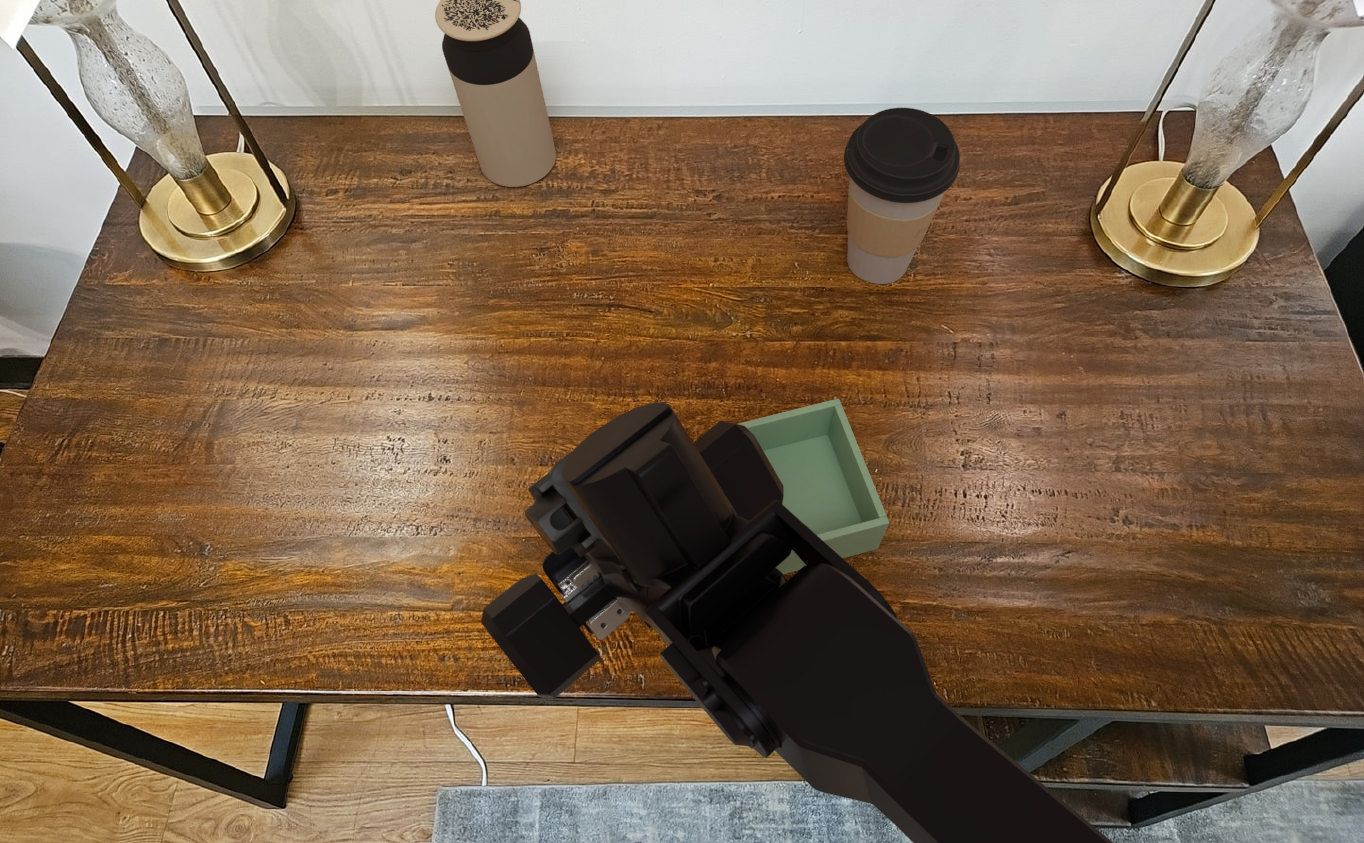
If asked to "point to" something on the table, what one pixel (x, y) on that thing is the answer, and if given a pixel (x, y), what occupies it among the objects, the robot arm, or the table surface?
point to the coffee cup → (895, 188)
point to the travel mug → (498, 88)
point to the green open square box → (823, 478)
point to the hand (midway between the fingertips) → (591, 521)
